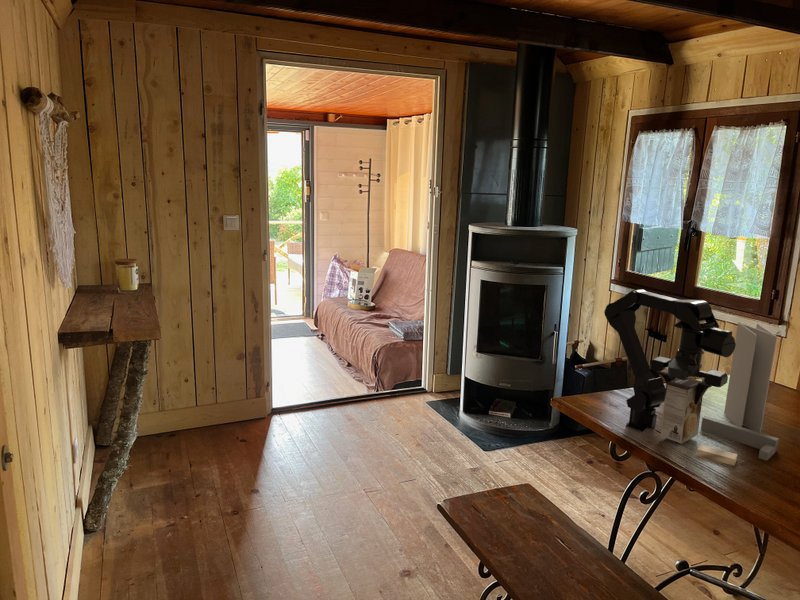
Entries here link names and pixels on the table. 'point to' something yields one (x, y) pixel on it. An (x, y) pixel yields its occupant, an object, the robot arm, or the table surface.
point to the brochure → (750, 376)
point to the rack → (742, 436)
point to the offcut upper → (716, 454)
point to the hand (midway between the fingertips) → (683, 400)
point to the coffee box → (681, 410)
